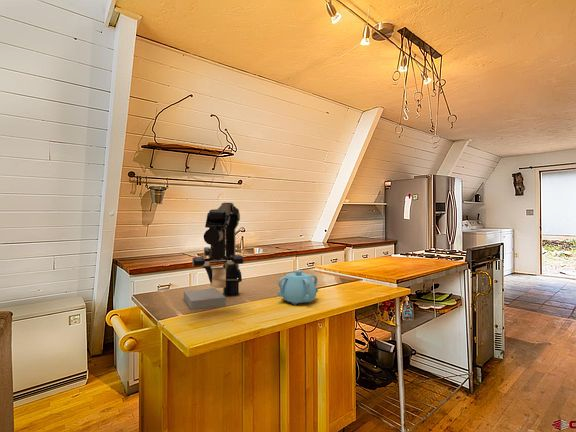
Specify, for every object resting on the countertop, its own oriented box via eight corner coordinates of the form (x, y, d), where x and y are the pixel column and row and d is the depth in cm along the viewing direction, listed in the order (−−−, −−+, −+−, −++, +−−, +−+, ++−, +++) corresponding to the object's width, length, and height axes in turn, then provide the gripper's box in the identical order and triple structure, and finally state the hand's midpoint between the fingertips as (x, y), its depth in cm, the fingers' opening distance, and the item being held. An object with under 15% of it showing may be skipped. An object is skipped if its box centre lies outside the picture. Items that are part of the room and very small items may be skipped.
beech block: (223, 284, 126) (223, 266, 126) (225, 287, 121) (225, 269, 121) (210, 285, 124) (210, 267, 124) (212, 288, 119) (212, 269, 119)
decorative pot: (272, 303, 137) (273, 271, 137) (290, 294, 151) (290, 266, 151) (307, 308, 129) (307, 275, 129) (322, 299, 143) (322, 269, 143)
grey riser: (214, 296, 148) (214, 288, 148) (225, 306, 132) (225, 297, 132) (183, 300, 142) (183, 291, 142) (191, 311, 126) (191, 301, 126)
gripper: (236, 239, 133) (236, 276, 133) (190, 241, 126) (190, 280, 126) (243, 242, 123) (243, 282, 123) (193, 243, 116) (193, 286, 116)
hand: (218, 282), depth 122 cm, fingers closed on beech block, 5 cm apart
